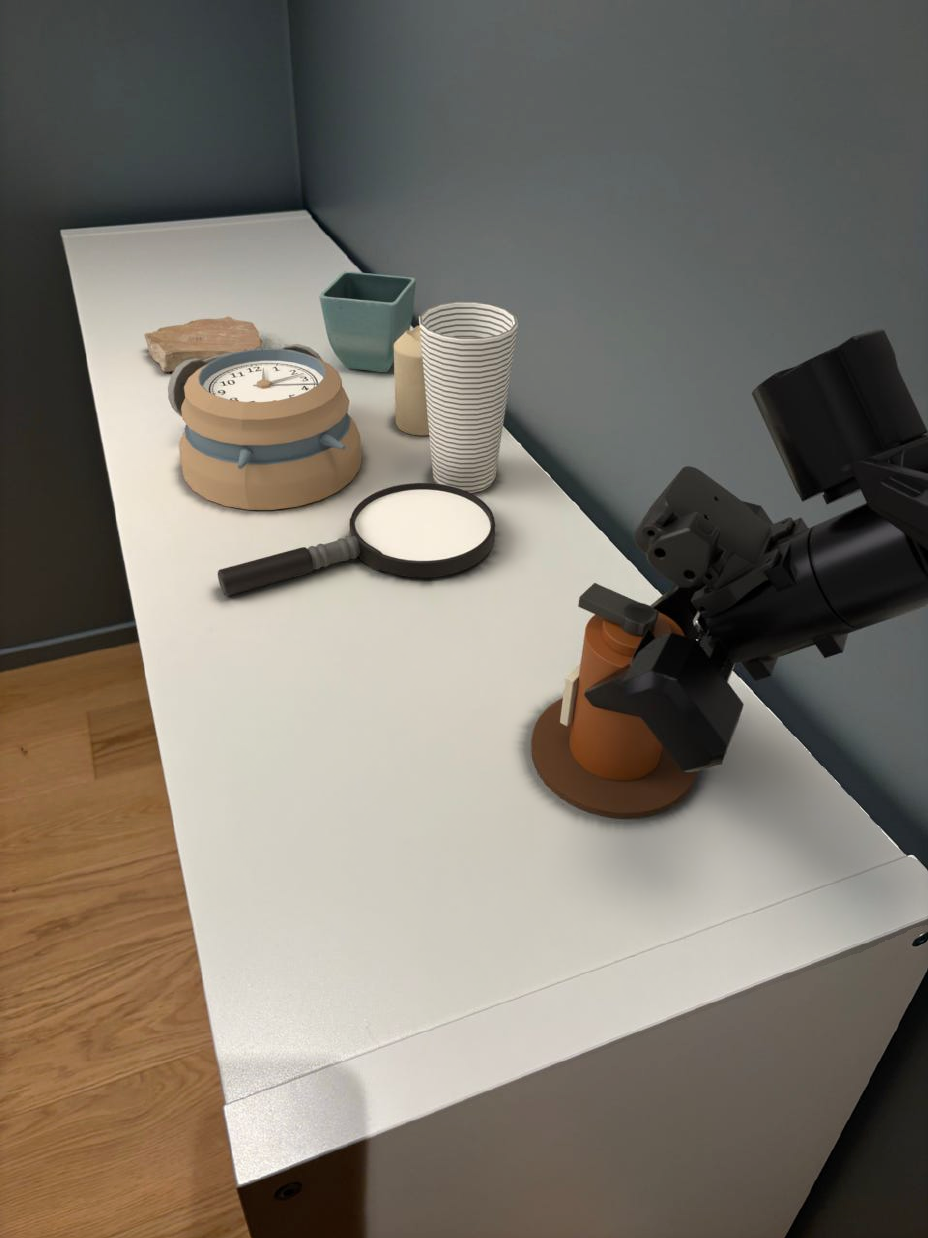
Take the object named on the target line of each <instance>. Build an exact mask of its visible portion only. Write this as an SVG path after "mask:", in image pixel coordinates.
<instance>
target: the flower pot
mask: <svg viewBox="0 0 928 1238" xmlns="http://www.w3.org/2000/svg"><path fill="white" fill-rule="evenodd" d="M416 282H417V279H416V277H409V276H400V275H389V274H378V273H367V272H360V271H359V272H357V271H342V272H340V274H338V276H337V277H336V278H335V279H334V280H333V281H332V282H331V283H330V284H329V285H328V286H327V287H326V288H324V290H323V291H321V292H320V294H319V296H318V297H319V303H320V307H321V313H322V317H323V322H324V323H323V324H324V328H325V332H326V336H327V339H328V342H329V345H330V347H331V349H332V351H333V353H334V355H335V356H336V357H337V359H338V360H339V361H340V363H341V364H342V365H343V366H344V368H346V369H352V370H361V371H370V372H379V373H387V372H388V371H389V370H390V369H391V367H393V365H394V343H395V342H396V341H397V340H398V339H399V338H400V337H401V336H402V335H403V334H404V333H405V332H406V331H407V330H409V331H411V330H410V329H411V326H412V322H413V313H414V305H415V293H416Z"/></svg>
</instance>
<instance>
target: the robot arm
mask: <svg viewBox="0 0 928 1238" xmlns="http://www.w3.org/2000/svg"><path fill="white" fill-rule="evenodd" d="M890 341H891V340H890V339H889V337H888V334H887V333H886V331H885V329H882V328H876V329H873V330H870V331H867V332H863V333H860V334H856V335H853V336H851V337H849V338H848V339H847V340H845V341H843V342H842V343H841V344H839V345H837V346H836V347H834V348H831V349H829V350H826V351H824V352H822V353H820V354H818V355H816V356H814V357H811V358H809V359H808V360H806V361H803V362H802V363H800V364H798V365H796V366H792V367H790V368H786V369H783V370H780V371H778V372H776V373H774V374H772V375H771V376H769V377H768V378H766V379H765V380H763V381H761V383H759V384H758V385H757V386H756V387H755V388H754V389H753V390H752V392H751V396H752V397H753V400H754V402H755V404H756V407H757V409H758V411H759V413H760V416H761V417H762V419H763V422H764V424H765V426H766V428H767V430H768V433H769V435H770V437H771V439H772V442H773V443H774V446H775V448H776V449H777V452H778V454H779V456H780V459H781V461H782V463H783V465H784V467H785V469H786V472H787V474H788V476H789V478H790V481H791V482H792V484H793V487H794V489H795V491H796V493H797V494H798V496H799V498H800V500H801V502H802V503H804V502H806V501H808V500H810V499H813V498H816V497H817V496H820V495H822V498H823V500H824V502H825V505H830V504H833V503H836V502H838V501H841V500H843V499H845V498H847V497H850V496H853V495H855V494H857V493H859V492H861V495H862V496H863V498H864V500H865V503H863V504H861V505H858V506H856V507H853V508H851V509H849V510H847V511H845V512H842V513H840V514H838V515H836V516H833V517H831V518H829V519H826V520H824V521H822V522H819V523H818V524H817V523H816V525H813V526H811V527H809V526H808V525H807V524H806V522H805V521H804V520H803V518H802V517H799V518H797V519H795V520H794V519H793V518H792V517H786V518H784V519H782V520H779V521H777V522H773V521H772V520H771V518H770V517H769V515H768V513H767V512H766V510H764V508H763V507H762V505H759V504H755V503H752V502H749V501H745V500H741V499H740V498H739V497H737V496H736V495H734V493H732V492H730V491H729V490H728V489H726V488H725V487H724V486H723V485H721V484H720V483H718V482H717V481H715V479H713V478H712V477H710V476H709V475H708V474H706V473H705V472H704V471H702V470H700V469H699V468H697V467H695V466H691V465H686V466H684V467H682V468H681V469H680V470H679V472H678V473H677V474H676V475H675V476H674V478H673V479H672V480H671V481H670V483H668V485H667V486H666V487H665V489H664V490H663V491H662V492H661V493H660V495H659V496H658V497H657V498H656V499H655V501H654V502H653V503H652V504H651V506H650V507H649V508H648V510H647V512H646V513H645V515H644V516H643V518H642V519H641V521H640V523H639V524H638V525H637V527H636V528H635V529H634V532H633V534H632V538H633V541H634V543H635V545H636V546H637V548H638V549H639V550H640V551H641V552H642V553H644V554H645V556H646V557H645V558H646V561H647V563H648V564H649V566H651V567H652V568H653V569H655V570H656V571H658V573H660V574H661V575H663V576H664V577H665V578H667V579H668V580H669V581H670V582H672V583H674V585H673V586H671V587H670V588H669V589H668V590H667V591H666V592H665V593H663V594H662V595H661V596H659V598H658V599H656V600H655V601H654V602H653V603H651V604H650V605H649V606H651V607H652V608H653V609H655V610H658V611H659V612H660V613H662V614H664V615H666V616H667V617H669V618H670V619H672V620H673V621H674V622H675V623H676V624H677V625H678V626H679V627H680V628H681V630H682V631H683V633H684V636H683V635H680V634H676V633H673V632H670V633H668V634H665V635H663V636H660V637H658V638H655V637H654V635H653V634H652V633H651V631H650V630H649V629H647V631H646V632H645V634H644V636H643V638H642V639H641V641H640V643H639V645H638V647H637V648H636V650H635V652H634V654H633V656H632V658H631V663H630V664H628V665H626V666H625V667H623V668H621V669H619V670H618V671H616V672H614V673H612V674H611V675H609V676H607V677H605V678H604V679H602V680H600V681H599V682H597V683H596V684H594V685H593V686H591V687H590V688H588V689H587V690H586V691H585V693H584V696H585V697H586V699H587V700H588V701H589V703H590V704H591V705H592V706H593V707H596V708H601V709H605V710H610V711H614V712H619V713H623V714H628V715H632V716H637V717H641V719H642V720H643V721H644V723H645V724H646V725H647V726H648V728H649V729H650V730H651V732H652V733H653V734H654V735H655V737H656V738H657V739H658V741H659V742H660V743H661V745H662V746H663V747H664V748H665V750H666V751H667V752H668V754H669V755H670V756H671V757H672V759H673V760H674V761H675V763H676V764H677V765H678V766H679V768H680V769H681V770H682V772H695V771H697V772H699V771H702V770H707V769H710V768H714V767H717V766H721V765H723V763H724V760H725V758H726V754H727V753H728V750H729V747H730V745H731V742H732V740H733V737H734V735H735V731H736V729H737V726H738V724H739V722H740V718H741V714H742V711H743V708H744V705H745V704H744V702H743V701H742V700H741V698H740V697H739V696H738V694H737V693H736V691H735V690H734V689H733V687H732V686H731V685H730V683H729V681H730V679H731V675H732V673H733V670H734V669H735V665H739V664H742V665H743V667H744V668H745V670H746V671H747V672H748V674H749V675H750V676H751V678H752V679H753V680H754V682H758V681H761V680H763V679H766V678H770V677H772V676H773V673H774V670H775V667H776V665H777V662H778V659H779V658H780V657H783V656H786V655H790V654H792V653H795V652H798V651H802V650H805V649H808V648H810V647H813V646H815V647H816V648H817V650H818V651H819V652H820V654H821V656H822V657H823V658H824V659H827V658H831V657H833V656H837V655H839V654H843V653H844V650H845V648H846V643H847V640H848V636H849V634H851V633H854V632H857V631H859V630H863V629H865V628H868V627H871V626H873V625H876V624H879V623H882V622H885V621H888V620H891V619H894V618H897V617H900V616H903V615H905V614H908V613H913V612H914V611H917V610H920V609H923V608H926V607H928V429H927V426H926V424H925V422H924V420H923V419H922V416H921V414H920V411H919V409H918V408H917V405H916V404H915V401H914V399H913V396H912V395H911V393H910V391H909V388H908V386H907V384H906V382H905V380H904V378H903V375H902V374H901V371H900V369H899V366H898V360H897V357H896V353H895V350H894V347H893V345H892V344H891V342H890Z"/></svg>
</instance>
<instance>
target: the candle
mask: <svg viewBox="0 0 928 1238" xmlns="http://www.w3.org/2000/svg"><path fill="white" fill-rule="evenodd" d="M393 367H394V368H393V369H394V370H393V372H394V373H393V375H394V376H393V377H394V404H395V405H394V410H395V424H396V427H397V428H398V429H399V430H400V431H401V432H403V433H406V434H408V435H414V436H429V425H428V413H427V402H426V391H425V380H424V368H423V357H422V346H421V335H420V325H416V326H415V327H413V328H412V329H411V330H407V331H406V332H405V333H404V334H403V335H402V336H401V337H400V338H399V339H398V340H397V341H396V342H395V343H394V363H393Z"/></svg>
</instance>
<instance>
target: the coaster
mask: <svg viewBox="0 0 928 1238" xmlns="http://www.w3.org/2000/svg"><path fill="white" fill-rule="evenodd" d="M562 702H563V697H561V698H560V699H558V700H556V701H555V702H553V703H552V704H550V705H549V706H548V707H547V708H546V709H545V710H543V712H542V713H541V714H540V716H539V717H538V719H537V721H536V722H535V724H534V728H533V730H532V736H531V743H530V745H531V746H530V750H531V751H530V752H531V757H532V762H533V764H534V768H535V769H536V771H537V774H539V776H540V778H541V779H542V781H543V782H544V783H545V784H546V786H547V787H548V788H549V789H550V790H551V791H552V792H553V793H555V794H556V795H557V796H558V797H559V798H561V799H562V800H564V801H566V802H567V804H570V805H572V806H574V807H576V808H577V809H580V810H582V811H585V812H588V813H591V814H594V815H598V816H600V817H601V816H602V817H608V818H613V819H639V818H645V817H650V816H653V815H657V814H660V813H663V812H664V811H667V810H669V809H671V808H672V807H674V806H676V805H677V804H678V803H679V802H681V801H682V800H683V799H684V798H685V797H686V796H687V795H688V794H689V792H690V791H691V789H692V787H693V786H694V783H695V781H696V778H697V775H698V771H695V772H682V770H681V769H680V768H679V766H678V765H677V764H676V763H675V761H674V760H673V759H672V757H671V756H670V755H669V754H668V752H667V751H666V750H665V748H664V747H662V751H661V755H660V759H659V762H658V764H657V765H656V767H655V768H654V769H653V770H652V771H651V772H650V773H648V774H647V775H645V776H643V777H641V778H638V779H634V780H628V781H614V780H608V779H605V778H601V777H599V776H596V775H594V774H592V773H590V772H589V771H587V770H586V769H584V768H583V767H582V766H581V765H580V764H579V763H578V762H577V761H576V759H575V758H574V756H573V754H572V752H571V749H570V734H571V727H572V722H571V723H570V724H569V725H568V726H565V725H563V724H562V723H560V718H561V710H562Z"/></svg>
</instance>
